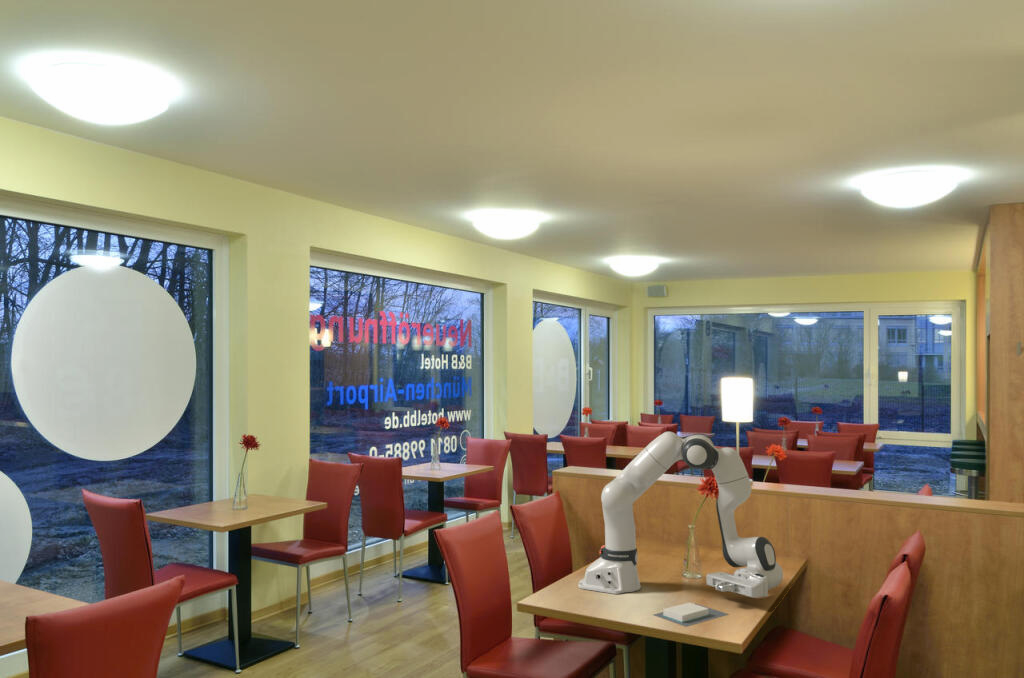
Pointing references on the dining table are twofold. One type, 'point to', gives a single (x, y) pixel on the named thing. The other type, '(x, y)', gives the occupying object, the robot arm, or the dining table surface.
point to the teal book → (685, 612)
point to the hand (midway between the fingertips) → (719, 588)
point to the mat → (712, 615)
